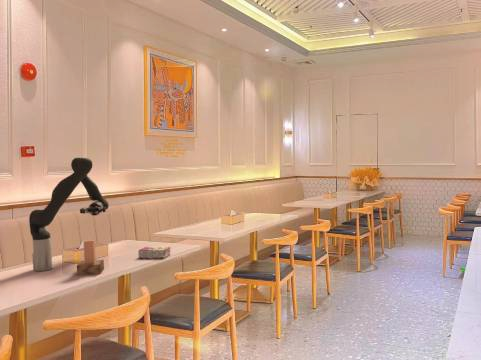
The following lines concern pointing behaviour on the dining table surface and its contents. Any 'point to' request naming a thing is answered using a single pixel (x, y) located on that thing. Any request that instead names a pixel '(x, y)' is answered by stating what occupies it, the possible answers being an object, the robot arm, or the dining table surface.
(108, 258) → the dining table surface
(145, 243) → the dining table surface
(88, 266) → the walnut block
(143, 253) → the candy bar box
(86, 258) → the terracotta block
